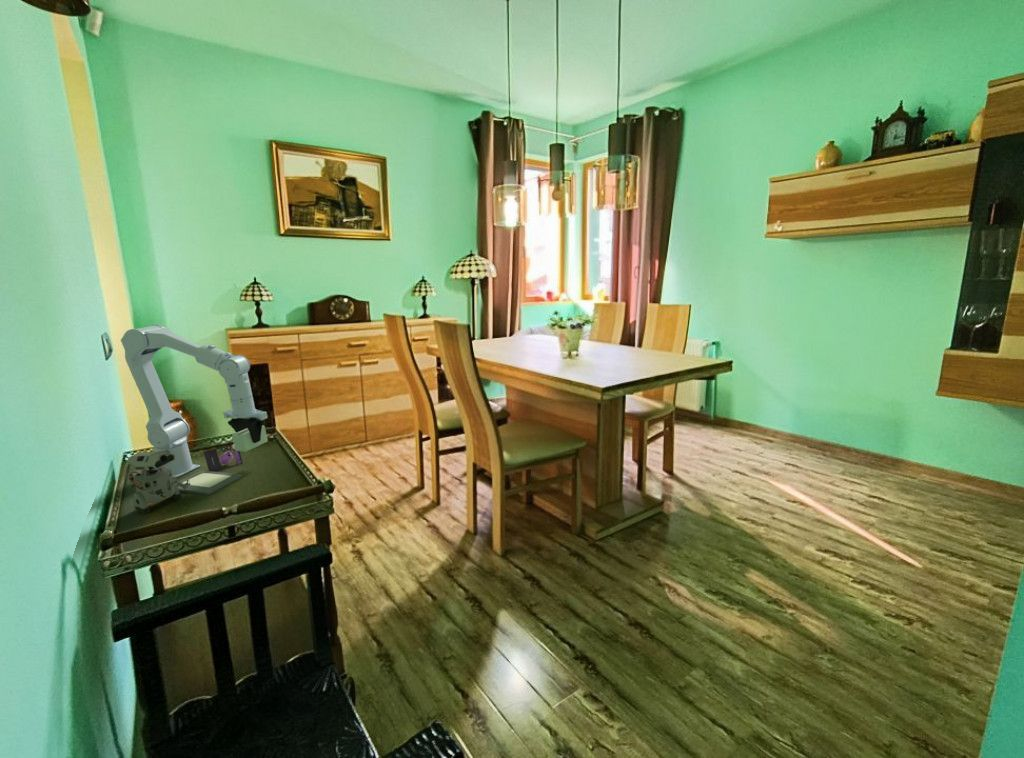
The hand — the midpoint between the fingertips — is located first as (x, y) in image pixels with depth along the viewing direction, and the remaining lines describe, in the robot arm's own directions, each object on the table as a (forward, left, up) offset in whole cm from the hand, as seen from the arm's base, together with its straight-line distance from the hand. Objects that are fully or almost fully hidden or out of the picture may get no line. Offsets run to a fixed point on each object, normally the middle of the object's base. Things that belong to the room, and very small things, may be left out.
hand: (251, 441), depth 141 cm
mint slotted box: (0, 0, -1) cm, 1 cm away
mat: (-7, -11, -8) cm, 16 cm away
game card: (-11, -1, -9) cm, 14 cm away
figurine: (-5, -24, -9) cm, 26 cm away
